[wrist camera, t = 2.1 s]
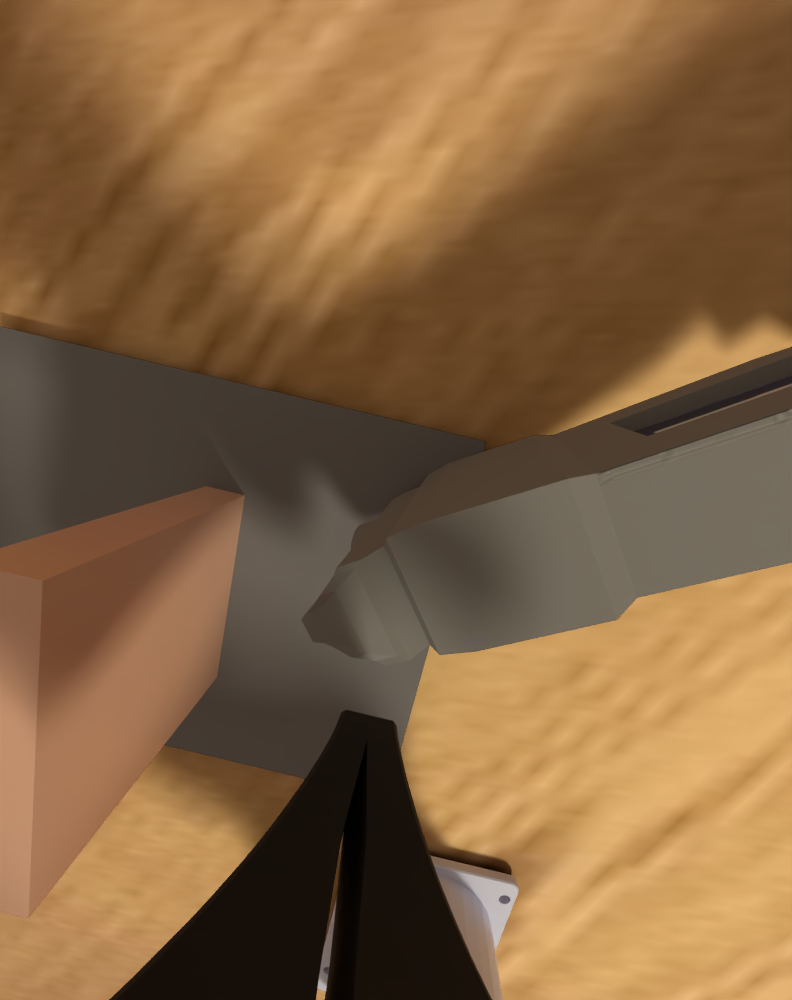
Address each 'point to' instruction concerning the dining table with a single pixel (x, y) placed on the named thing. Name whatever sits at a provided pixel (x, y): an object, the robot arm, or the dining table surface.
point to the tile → (101, 669)
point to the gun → (573, 523)
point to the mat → (263, 530)
